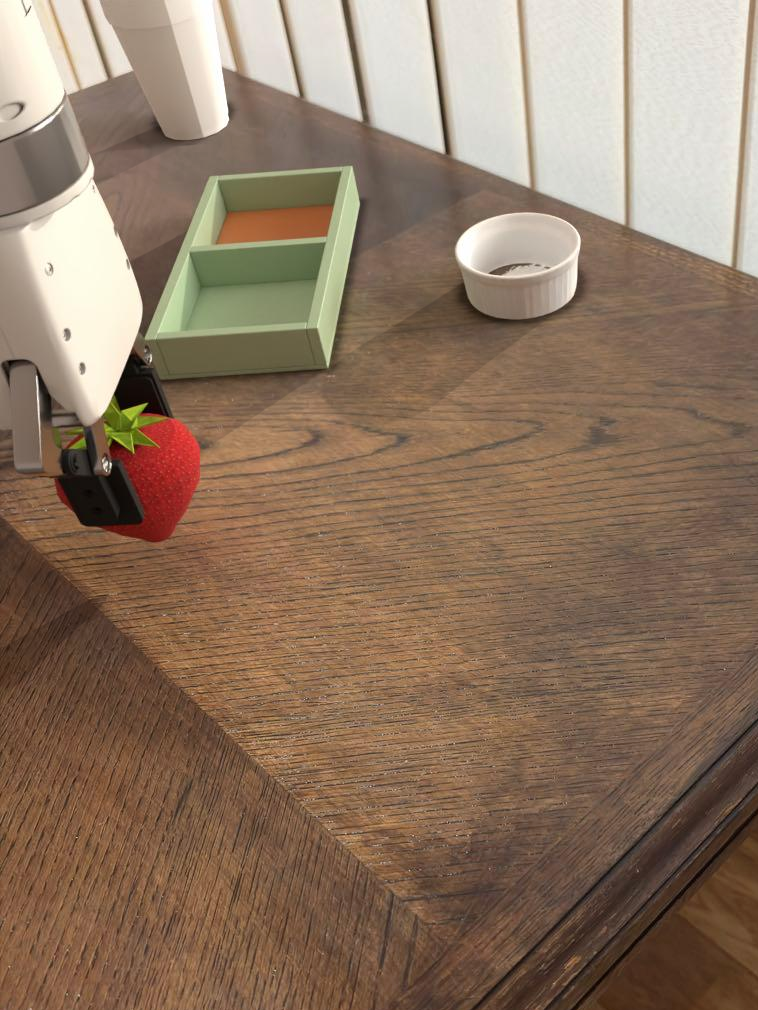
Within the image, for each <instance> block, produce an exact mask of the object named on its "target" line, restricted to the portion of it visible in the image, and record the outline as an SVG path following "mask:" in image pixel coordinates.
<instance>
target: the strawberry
mask: <svg viewBox="0 0 758 1010" xmlns="http://www.w3.org/2000/svg"><path fill="white" fill-rule="evenodd" d="M147 404H148V403H145V404H142V405H139V406H135V407H132V408H129V409H125V410H122V411H120V408H119V406H118V403H117V400H116V397H115V395H114V396H113V397H112V399H111V401H110V403H109V405H108V407H107V409H106V411H105V412H104V413H103V415H102V417H103V418H104V420H103V423H104V428H105V432H106V437H107V441H108V446H109V451H110V455H111V459H121V461H122V463H123V465H124V467H125V470H126V472H127V474H128V476H129V478H130V481H131V483H132V485H133V487H134V489H135V492H136V494H137V496H138V498H139V500H140V503H141V505H142V507H143V509H144V512H145V515H144V518H143V521H142V523H141V524H138V525H120V526H100V527H97V528H99V529H101V530H104V531H107V532H110V533H113V534H116V535H119V536H121V537H127V538H133V539H138V540H142V541H145V542H149V543H161V542H164V541H166V540H168V539H169V538H170V537H171V536H172V535H173V533H174V532H175V530H176V528H177V526H178V524H179V522H180V521H181V520H182V518H183V517H184V515H185V513H186V512H187V510H188V508H189V506H190V503H191V501H192V499H193V496H194V495H195V492H196V489H197V487H198V485H199V482H200V479H201V448H200V444H199V442H198V441H197V439H196V438H195V436H194V435H193V434H192V432H191V431H190V430H189V428H188V427H187V426H186V425H185V424H184V423H183V422H181V421H180V420H177V419H175V418H174V419H172V418H169V417H165V416H162V415H158V414H151V413H141V412H142V411H143V409H144V408H145V407H146V405H147ZM64 434H65V436H76V435H77V436H76V437H75V438H74V439H72V440H71V441H70V443H69V444H67V446H66V447H65V448H64V449H81V450H87V447H86V442H85V438H84V434H83V429H82V426H80V427H77V428H74V429H71V430H67V431H64ZM53 481H54V485H55V490H56V495H57V497H58V499H59V500H60V502H61V503H62V504H63V505H64V506H66V507H67V508H68V509H69V510H70V511H72V512H73V513H74V514H75V512H74V510H73V508H72V507H71V505H70V503H69V501H68V499H67V497H66V495H65V493H64V491H63V489H62V487H61V485H60V484H59V482H58V480H57V478H54V479H53Z"/></svg>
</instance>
